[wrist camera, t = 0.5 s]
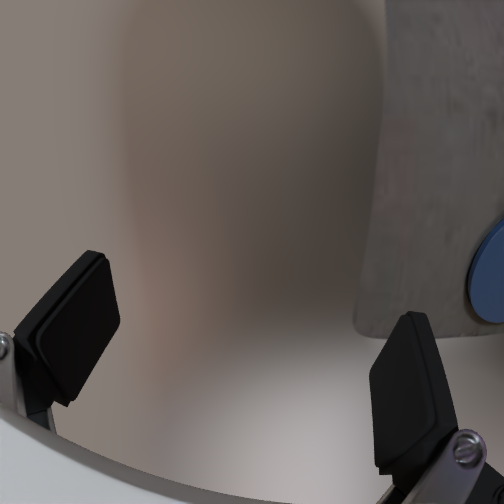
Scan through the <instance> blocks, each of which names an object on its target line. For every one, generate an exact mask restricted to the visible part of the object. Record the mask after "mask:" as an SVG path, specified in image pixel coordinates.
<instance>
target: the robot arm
mask: <svg viewBox="0 0 504 504" xmlns="http://www.w3.org/2000/svg"><path fill="white" fill-rule="evenodd" d="M119 324H120V315H119V310H118V305H117V301H116V296H115V291H114V285H113V281H112V275H111V269H110V263H109V260H108V259H106V257H105V255H104V254H103V253H100V252H95V251H91V250H87V251H86V252H85V253H84V254H83V255H82V256H81V257H80V258H79V259H78V260H77V261H76V262H75V263H74V264H73V265H72V266H71V267H70V268H69V269H68V270H67V271H66V272H65V273H64V274H63V275H62V276H61V277H60V278H59V280H58V281H57V282H56V283H55V284H54V285H53V286H52V287H51V288H50V289H49V290H48V291H47V293H46V294H45V295H44V296H43V297H42V298H41V299H40V300H39V302H38V303H37V304H36V305H35V306H34V307H33V308H32V310H31V311H30V312H29V313H28V314H27V315H26V317H25V318H24V319H23V320H22V321H21V323H20V324H19V325H18V326H17V328H16V329H15V330H14V333H15V336H14V337H13V338H12V337H11V336H10V335H8V334H7V333H5V332H0V504H290V503H279V502H271V501H264V500H257V499H249V498H244V497H239V496H233V495H227V494H223V493H218V492H213V491H209V490H205V489H200V488H196V487H192V486H188V485H184V484H181V483H177V482H174V481H171V480H167V479H164V478H161V477H157V476H154V475H151V474H148V473H146V472H143V471H140V470H137V469H134V468H131V467H129V466H126V465H123V464H121V463H118V462H116V461H113V460H111V459H108V458H106V457H104V456H101V455H99V454H97V453H94V452H92V451H90V450H87V449H86V448H83V447H81V446H79V445H77V444H75V443H73V442H71V441H69V440H67V439H65V438H63V437H61V436H59V435H57V433H56V429H55V424H54V419H53V414H52V409H51V405H52V403H53V402H54V401H55V402H58V403H59V404H62V405H63V406H66V407H68V405H69V403H70V401H74V400H75V399H76V398H77V396H78V394H79V393H80V391H81V389H82V387H83V386H84V384H85V382H86V380H87V379H88V377H89V375H90V374H91V372H92V370H93V368H94V367H95V365H96V363H97V361H98V360H99V358H100V357H101V355H102V353H103V352H104V350H105V348H106V347H107V345H108V343H109V342H110V340H111V338H112V337H113V335H114V334H115V332H116V331H117V329H118V327H119ZM369 381H370V392H371V403H372V417H373V434H374V459H375V465H376V467H379V475H392V479H393V480H392V481H393V484H392V485H391V486H390V487H389V489H388V490H387V491H386V492H385V494H384V495H383V496H382V497H381V498H380V500H379V501H378V502H377V503H376V504H504V477H503V476H502V475H501V474H499V473H498V472H497V471H496V470H495V469H494V468H492V467H491V466H490V465H489V464H487V463H486V462H485V460H486V456H487V450H486V445H485V442H484V441H483V439H482V437H481V436H480V435H479V434H478V433H477V432H474V431H473V430H469V429H463V430H459V429H458V423H457V418H456V414H455V410H454V406H453V401H452V398H451V393H450V389H449V386H448V382H447V379H446V375H445V371H444V367H443V364H442V361H441V357H440V355H439V351H438V348H437V345H436V342H435V338H434V335H433V332H432V329H431V326H430V323H429V320H428V318H427V315H426V314H425V313H419V312H413V311H408V312H407V313H406V314H405V315H402V316H401V317H400V318H399V320H398V322H397V324H396V326H395V327H394V329H393V331H392V333H391V335H390V336H389V338H388V340H387V342H386V344H385V345H384V347H383V349H382V350H381V352H380V354H379V356H378V357H377V359H376V361H375V362H374V364H373V366H372V368H371V370H370V373H369Z"/></svg>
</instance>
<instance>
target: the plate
mask: <svg viewBox="0 0 504 504" xmlns="http://www.w3.org/2000/svg"><path fill="white" fill-rule="evenodd" d="M468 295H469V299H470V302H471V304H472V306H473V308H474V310H475V312H476V313H477V314H478V315H479V316H480V317H481V318H483V319H484V320H486V321H489V322H495V323H502V322H504V219H503V220H501V221H500V222H499V223H498V224H497V225H496V226H495V227H494V228H493V230H492V231H491V232H490V233H489V234H488V236H487V237H486V239H485V240H484V241H483V243H482V245H481V246H480V248H479V250H478V252H477V254H476V256H475V258H474V261H473V263H472V266H471V270H470V273H469V279H468Z"/></svg>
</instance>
